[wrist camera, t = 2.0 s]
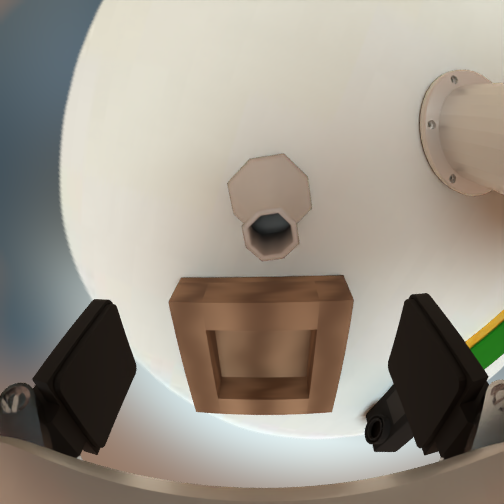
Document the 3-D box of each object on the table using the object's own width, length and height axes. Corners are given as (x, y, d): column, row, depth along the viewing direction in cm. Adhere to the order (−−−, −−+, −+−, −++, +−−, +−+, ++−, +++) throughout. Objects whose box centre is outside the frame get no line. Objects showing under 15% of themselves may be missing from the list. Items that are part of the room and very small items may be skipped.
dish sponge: (437, 358, 34) (444, 370, 32) (511, 299, 30) (520, 308, 28) (448, 380, 36) (454, 391, 34) (515, 327, 32) (523, 336, 30)
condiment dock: (343, 275, 29) (353, 300, 25) (327, 385, 35) (331, 412, 31) (181, 277, 30) (168, 301, 26) (202, 385, 36) (196, 411, 32)
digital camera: (399, 367, 34) (415, 407, 28) (426, 372, 35) (443, 409, 28) (358, 414, 38) (366, 452, 32) (386, 417, 39) (396, 452, 32)
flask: (213, 178, 26) (183, 210, 17) (288, 139, 24) (300, 148, 15) (253, 246, 28) (246, 308, 19) (324, 212, 27) (352, 260, 17)
